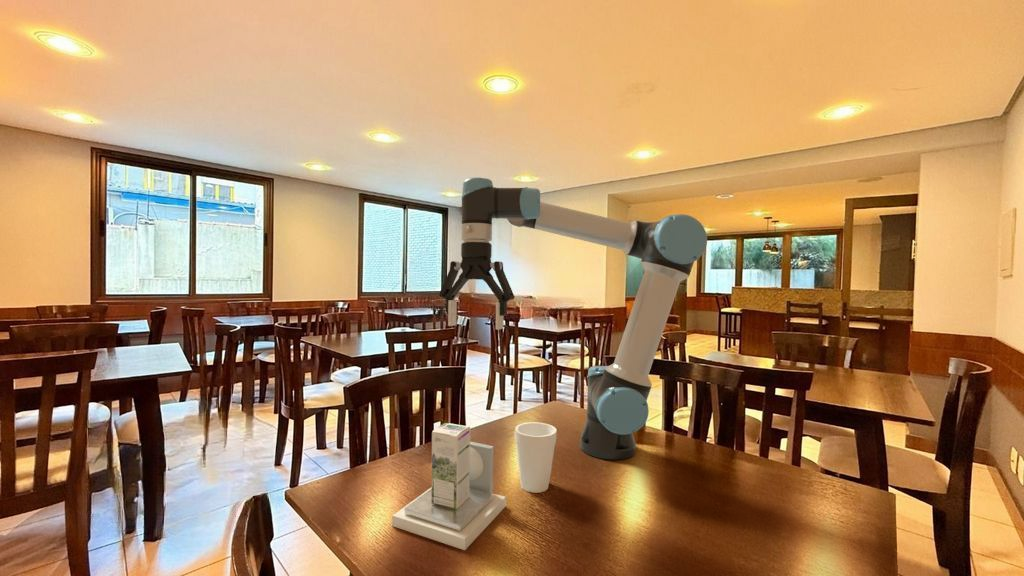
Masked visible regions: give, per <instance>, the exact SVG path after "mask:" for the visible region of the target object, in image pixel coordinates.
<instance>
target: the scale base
mask: <svg viewBox="0 0 1024 576" xmlns="http://www.w3.org/2000/svg"><path fill="white" fill-rule="evenodd" d="M494 448H495V447H494V445H489V444H485V443H479V442H474V441H470V463H469V488H472V489H476V490H480V491H483V492H487V493H491V494H493V499H492V500H491V501H490V502H489V503H488V504H487V505H486V506H485V507H484V508H483V509H482V510H481V511H480V512H479V513H478V514H477V515H476V516H475V517H474V518H473V519H472V520H471V521H470V522H469V523H468V524H467V525H466V526H465V527H464V528H463V529H462V530H461V531H459V530H456V529H453V528H449V527H446V526H443V525H440V524H437V523H433V522H430V521H427V520H424V519H421V518H418V517H414V516H411V515H408V514H405V513H404V512H405V507H407V506H408V505H410V504H411V503H412V502H414V501H415V500H416V499H418V498H419V497H421V496H422V495H423V494H425V493H426V492H427V491H429V490H430V489H431V488H432V486H431V487H430V488H428V489H426V490H425V492H423V493H422V494H420V495H419V496H417V497H416V498H415V499H413V500H412V501H410V502H409V503H408V504H406V505H405V506H404V507H402V508H401V509H399V510H398V511H396V512H395V513H394V514H392V516H391V518H392V520H391V521H392V524H391V525H392V527H394V528H398V529H401V530H403V531H406V532H409V533H412V534H415V535H418V536H421V537H423V538H427V539H428V540H429V539H430V540H433V541H436V542H439V543H443V544H444V545H448V546H450V547H453V548H456V549H460V550H462V551H466V550H467V549H468V547H469V546H470V545H472V543H474V541H475V540H476V539H477V538H478V537H479V536H480V535H481V534H482V533H483V531H485V529H486V528H487V527H488V526H489V525H490V524H491V523H492V522H493V521H494V519H495V518H496V517H497V516H498V515H499V514H500V513H502V511H503V510H504V509H505V508H506V507H507V506H506V505H507V503H506V502H507V501H506V499H507V498H506V497H507V496H504V495H501V494H500V495H499V494H496V493H494V451H495V450H494Z"/></svg>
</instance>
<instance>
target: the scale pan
mask: <svg viewBox="0 0 1024 576" xmlns="http://www.w3.org/2000/svg"><path fill="white" fill-rule="evenodd" d="M430 488H431V487H430ZM430 488H429V489H430ZM426 491H427V490H426ZM426 491H425V492H426ZM422 494H423V493H422ZM493 494H494V493H493ZM493 494H491V493H487V492H483V491H480V490H476V489H472V488H469V497H468V499H467V500H466V501H465V502H464V503H463V504H462V505H461V506H460V507H459V508H458V509H457V510H455V509H451V508H447V507H443V506H439V505H434V504H432V503H431V498H432V497H431V496H432V488H431V489H430V490H429V491H427V492H426V493H425V494H423V495H422V496H421V497H419V496H418V497H419V498H418V499H416V498H415V499H416V500H415V499H414V500H415V501H414V502H412V501H411V502H412V503H411V504H410V505H408V504H407V505H408V506H407V507H405V506H404V507H405V512H404V513H405V514H408V515H411V516H414V517H418V518H421V519H424V520H427V521H430V522H433V523H437V524H440V525H443V526H446V527H449V528H453V529H456V530H459V531H461V530H462V529H463V528H464V527H465V526H466V525H467V524H468V523H469V522H470V521H471V520H472V519H473V518H474V517H475V516H476V515H477V514H478V513H479V512H480V511H481V510H482V509H483V508H484V507H485V506H486V505H487V504H488V503H489V502H490V501H491V500H492V499H493Z"/></svg>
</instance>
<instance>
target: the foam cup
mask: <svg viewBox="0 0 1024 576" xmlns="http://www.w3.org/2000/svg"><path fill="white" fill-rule="evenodd" d="M557 431H558V430H557V428H556V427H555V425H551V424H548V423H544V422H537V421H535V422H531V421H529V422H524V423H520V424H517V425H516V426H515V428H514V440H515V446H516V453H517V455H516V456H517V463H518V472H519V473H518V474H519V481H520V487H521V488H522V490H523V491H526V492H529V493H532V494H533V493H536V494H537V493H542V492H543V493H544V492H546V491H547V490H548V489H549V486H550V485H549V484H550V479H551V472H552V467H553V459H554V453H555V445H556V443H557V435H558V432H557Z"/></svg>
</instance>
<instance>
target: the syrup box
mask: <svg viewBox="0 0 1024 576" xmlns="http://www.w3.org/2000/svg"><path fill="white" fill-rule="evenodd" d="M470 442H471V427H470V426H469V425H462V424H455V423H450V422H445V423H443V424H440V425H439V426H438V427H436V428H435V429H433V430H432V432H431V487H432V496H431V497H432V498H431V503H432V504H434V505H439V506H443V507H447V508H451V509H455V510H457V509H458V508H459V507H460V506H461V505H462V504H463V503H464V502H465V501H466V500H467V499H468V497H469V463H470Z"/></svg>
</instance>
